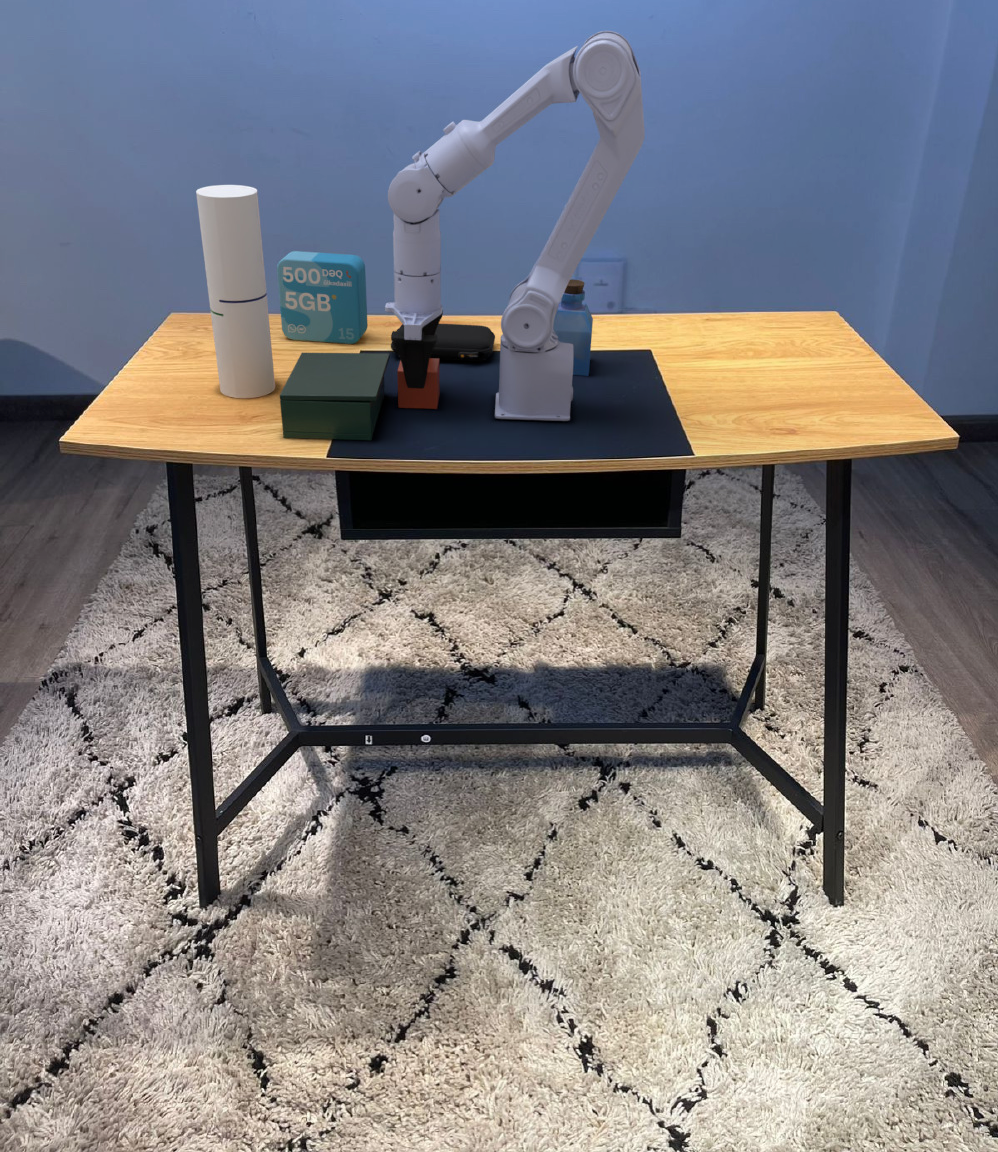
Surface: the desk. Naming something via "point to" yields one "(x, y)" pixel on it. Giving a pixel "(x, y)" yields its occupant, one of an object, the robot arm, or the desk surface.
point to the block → (420, 389)
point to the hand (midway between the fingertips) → (418, 376)
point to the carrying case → (461, 342)
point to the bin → (331, 418)
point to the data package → (322, 297)
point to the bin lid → (336, 377)
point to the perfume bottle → (575, 325)
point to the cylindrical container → (237, 289)
